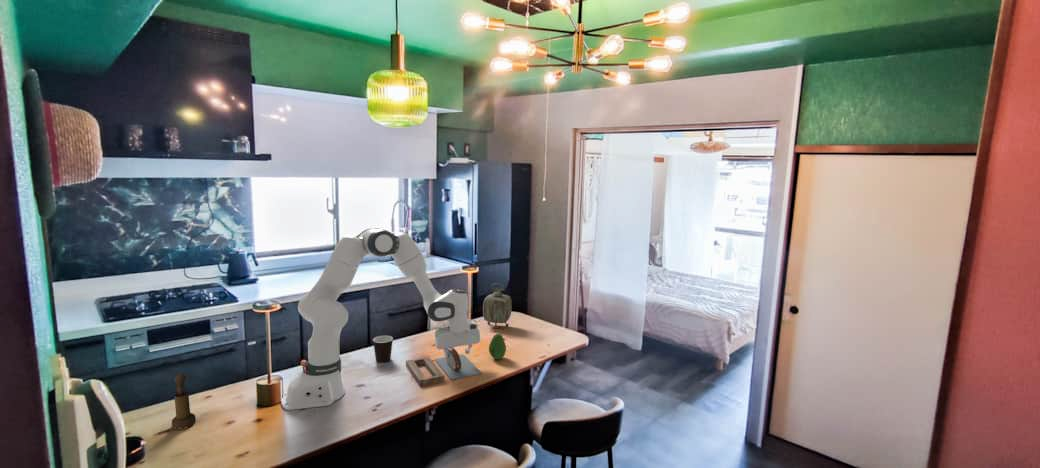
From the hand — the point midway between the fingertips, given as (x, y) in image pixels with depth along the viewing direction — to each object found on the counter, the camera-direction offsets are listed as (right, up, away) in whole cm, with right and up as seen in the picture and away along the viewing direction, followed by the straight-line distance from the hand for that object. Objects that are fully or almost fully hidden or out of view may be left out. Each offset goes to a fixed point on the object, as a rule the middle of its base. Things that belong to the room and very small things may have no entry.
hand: (457, 355), depth 212 cm
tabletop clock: (+15, +2, +52) cm, 54 cm away
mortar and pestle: (-86, -11, -49) cm, 100 cm away
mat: (0, -6, +1) cm, 6 cm away
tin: (-2, -5, 0) cm, 6 cm away
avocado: (+17, -5, +11) cm, 21 cm away
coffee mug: (-34, -4, +7) cm, 35 cm away
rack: (-13, -6, -6) cm, 16 cm away
